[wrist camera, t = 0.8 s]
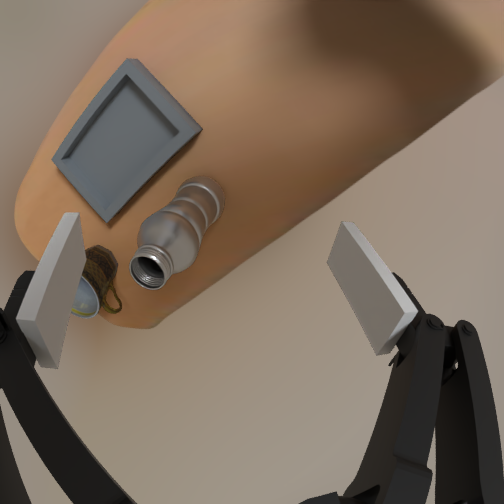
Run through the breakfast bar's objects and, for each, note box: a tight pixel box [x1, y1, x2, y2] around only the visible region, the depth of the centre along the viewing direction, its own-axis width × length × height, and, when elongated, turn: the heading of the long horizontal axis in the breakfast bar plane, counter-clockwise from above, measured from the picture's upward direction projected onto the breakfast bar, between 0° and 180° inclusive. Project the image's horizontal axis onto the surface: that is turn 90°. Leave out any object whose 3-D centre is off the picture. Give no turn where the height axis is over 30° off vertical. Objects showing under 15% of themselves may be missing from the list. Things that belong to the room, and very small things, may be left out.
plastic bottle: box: [129, 176, 225, 290], centre depth 36 cm, size 6×7×20 cm
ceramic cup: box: [71, 245, 122, 318], centre depth 49 cm, size 13×10×10 cm
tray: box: [51, 58, 203, 223], centre depth 40 cm, size 20×14×3 cm
